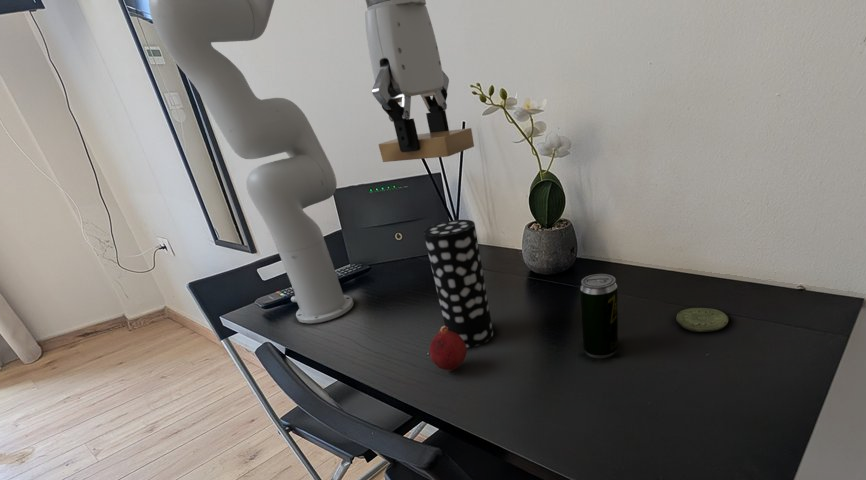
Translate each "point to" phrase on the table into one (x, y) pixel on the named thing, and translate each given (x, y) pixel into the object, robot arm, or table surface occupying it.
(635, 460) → the table surface
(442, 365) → the red pomegranate
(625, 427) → the table surface
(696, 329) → the medallion
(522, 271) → the table surface
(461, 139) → the flat wooden block
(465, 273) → the spotted tube
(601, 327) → the beer can
